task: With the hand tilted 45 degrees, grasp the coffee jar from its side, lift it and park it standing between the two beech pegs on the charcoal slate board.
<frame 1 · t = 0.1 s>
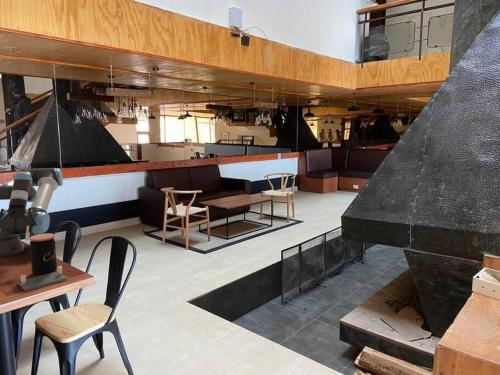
hand: (11, 239, 178), 15 cm above the table, tool tilted 35°, fingers open, 13 cm apart
peg board: (42, 281, 166), on the table
coffee jar: (44, 272, 178), on the table
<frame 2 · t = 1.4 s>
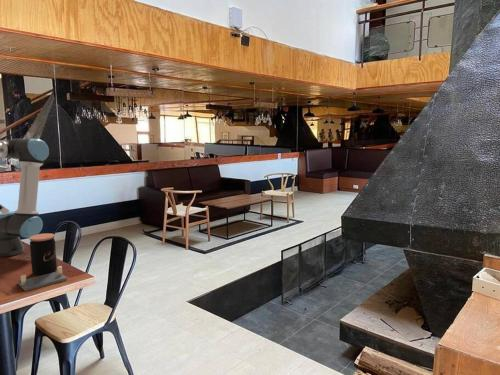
hand: (3, 210, 176), 30 cm above the table, tool tilted 45°, fingers open, 13 cm apart
nothing on the table moved.
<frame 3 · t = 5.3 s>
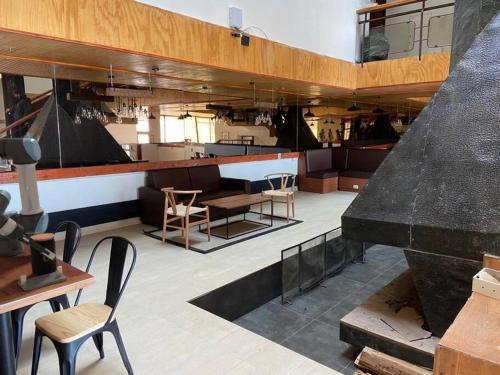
hand: (50, 254, 179), 8 cm above the table, tool tilted 45°, fingers closed on coffee jar, 11 cm apart
coffee jar: (44, 272, 178), on the table, touching gripper
when the fingers open (11 cm above the table, at t = 10.9 s): coffee jar drops 1 cm, resting on peg board.
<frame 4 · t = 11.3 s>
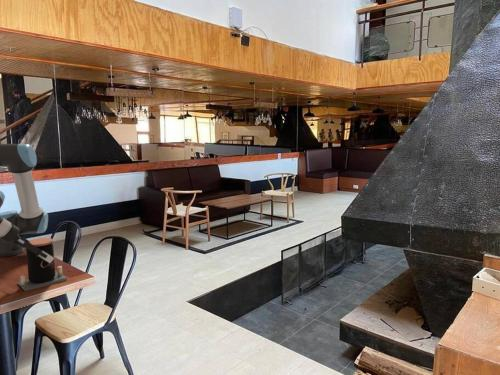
hand: (46, 256, 166), 11 cm above the table, tool tilted 45°, fingers open, 13 cm apart
coffee jar: (42, 279, 166), point 1 cm above the table, touching peg board
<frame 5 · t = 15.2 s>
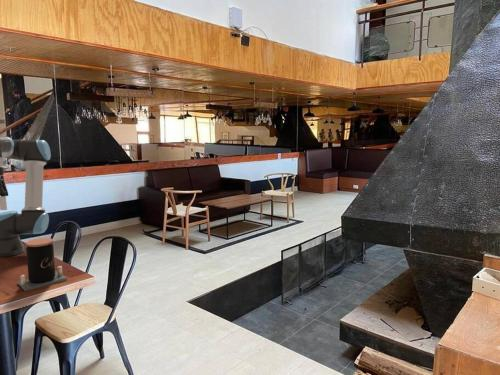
nothing on the table moved.
at the end: coffee jar inside the target area on the peg board (0.1 cm from its centre), point 1.0 cm above the peg board's base; coffee jar tilted 0°; the gripper is holding nothing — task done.
